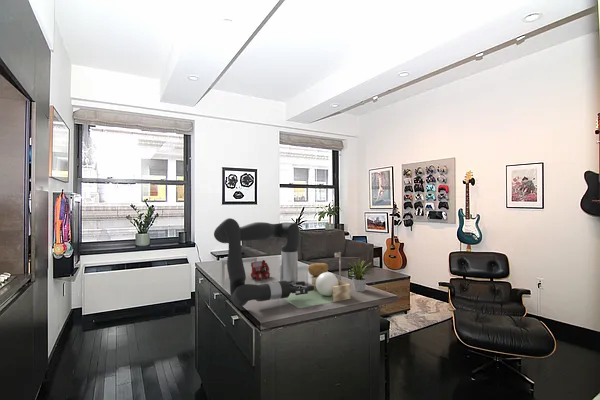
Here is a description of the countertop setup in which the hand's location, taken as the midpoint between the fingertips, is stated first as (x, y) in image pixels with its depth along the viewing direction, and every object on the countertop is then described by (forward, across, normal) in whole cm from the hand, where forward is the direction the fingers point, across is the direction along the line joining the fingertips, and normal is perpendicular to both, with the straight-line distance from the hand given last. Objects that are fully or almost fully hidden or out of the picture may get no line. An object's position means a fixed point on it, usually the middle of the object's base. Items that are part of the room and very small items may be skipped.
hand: (308, 285), depth 149 cm
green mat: (+3, 0, +6) cm, 7 cm away
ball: (+10, 0, 0) cm, 10 cm away
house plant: (+28, -1, +6) cm, 29 cm away
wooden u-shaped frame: (+13, 0, +6) cm, 14 cm away
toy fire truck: (-5, +48, +7) cm, 49 cm away
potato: (+28, +36, +6) cm, 45 cm away
